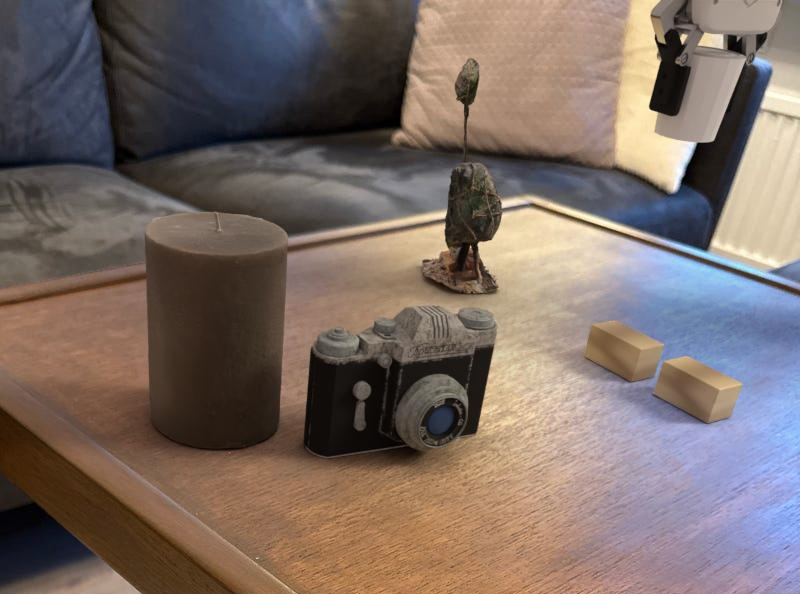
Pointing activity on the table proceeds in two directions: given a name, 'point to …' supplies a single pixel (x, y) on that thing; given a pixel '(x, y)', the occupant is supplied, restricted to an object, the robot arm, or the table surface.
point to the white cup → (703, 96)
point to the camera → (399, 382)
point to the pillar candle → (215, 327)
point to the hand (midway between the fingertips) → (691, 110)
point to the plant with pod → (467, 211)
